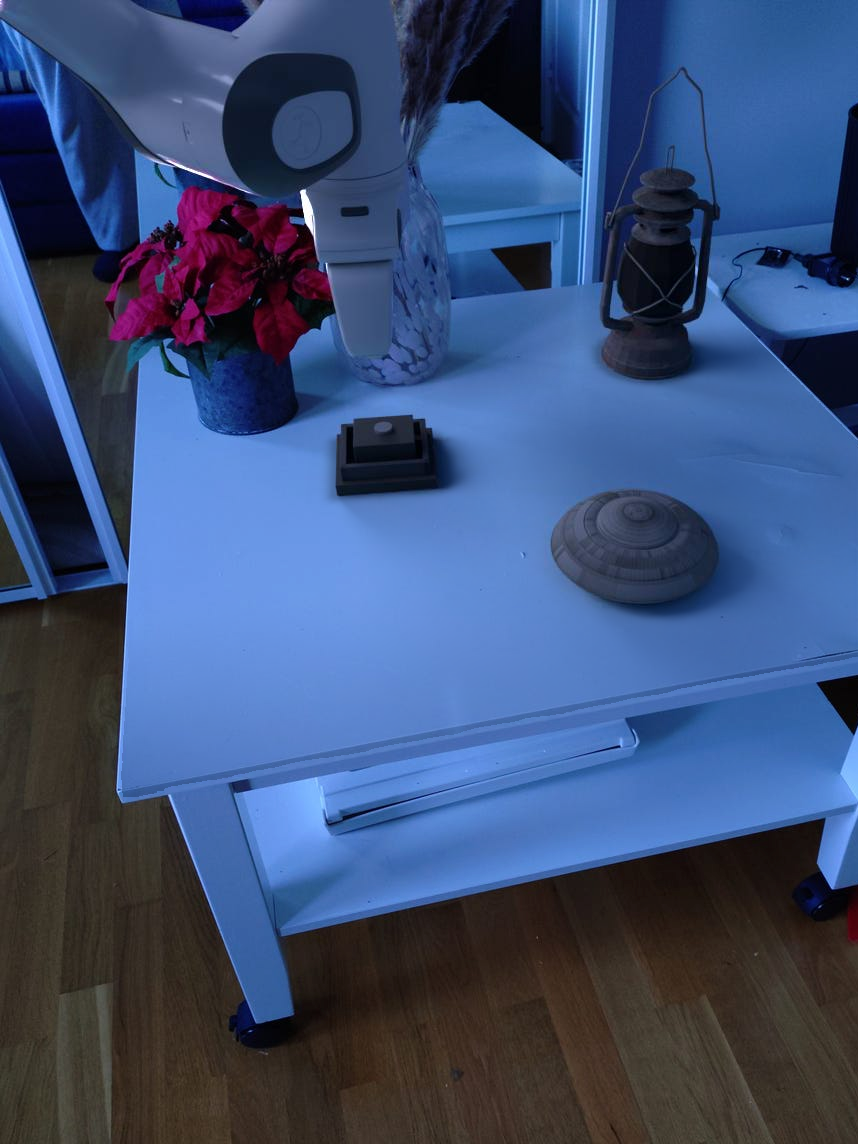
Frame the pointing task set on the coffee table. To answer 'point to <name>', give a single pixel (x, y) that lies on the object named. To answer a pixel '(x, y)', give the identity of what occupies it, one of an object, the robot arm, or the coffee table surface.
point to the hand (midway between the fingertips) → (374, 351)
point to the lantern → (657, 269)
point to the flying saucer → (635, 546)
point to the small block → (384, 439)
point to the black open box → (385, 466)
